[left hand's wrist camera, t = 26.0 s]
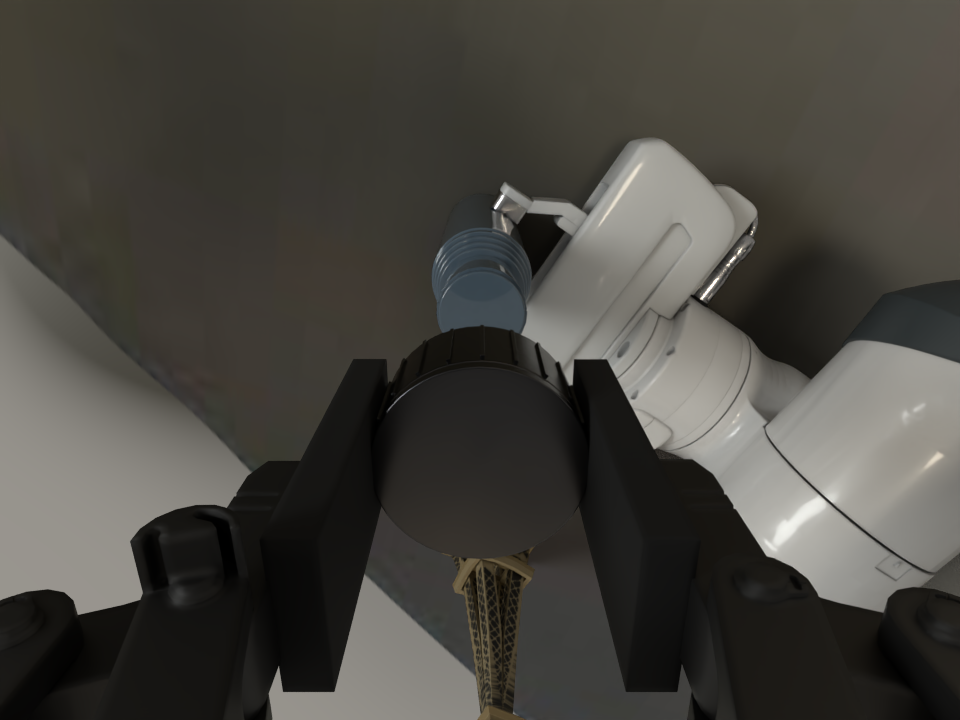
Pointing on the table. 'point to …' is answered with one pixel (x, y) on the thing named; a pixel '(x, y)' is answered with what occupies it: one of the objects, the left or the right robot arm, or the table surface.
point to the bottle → (481, 269)
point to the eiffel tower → (494, 625)
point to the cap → (480, 444)
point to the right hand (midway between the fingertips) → (467, 238)
